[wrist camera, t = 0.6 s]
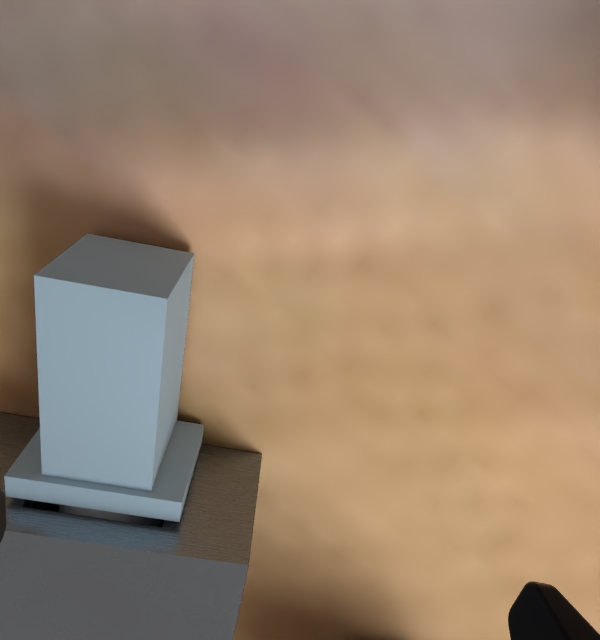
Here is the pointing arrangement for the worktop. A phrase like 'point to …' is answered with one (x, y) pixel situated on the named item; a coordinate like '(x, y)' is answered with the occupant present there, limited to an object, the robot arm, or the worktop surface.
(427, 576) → the worktop surface
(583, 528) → the worktop surface
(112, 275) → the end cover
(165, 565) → the block
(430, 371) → the worktop surface
